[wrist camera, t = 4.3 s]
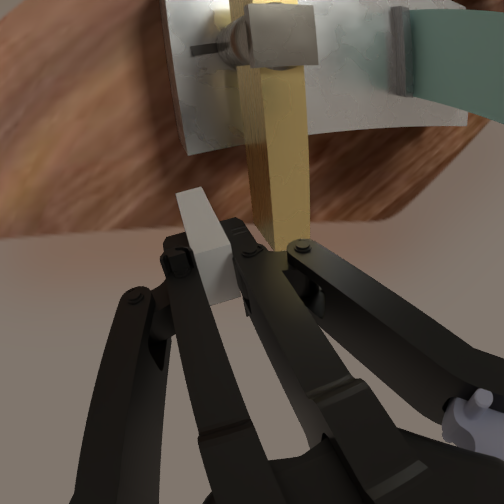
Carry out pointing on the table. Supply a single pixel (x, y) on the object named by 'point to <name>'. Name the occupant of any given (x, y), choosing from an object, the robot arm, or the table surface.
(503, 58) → the mint green box
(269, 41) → the hammer with yellow handle
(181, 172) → the table surface
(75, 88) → the table surface
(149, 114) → the table surface
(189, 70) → the white base platform
